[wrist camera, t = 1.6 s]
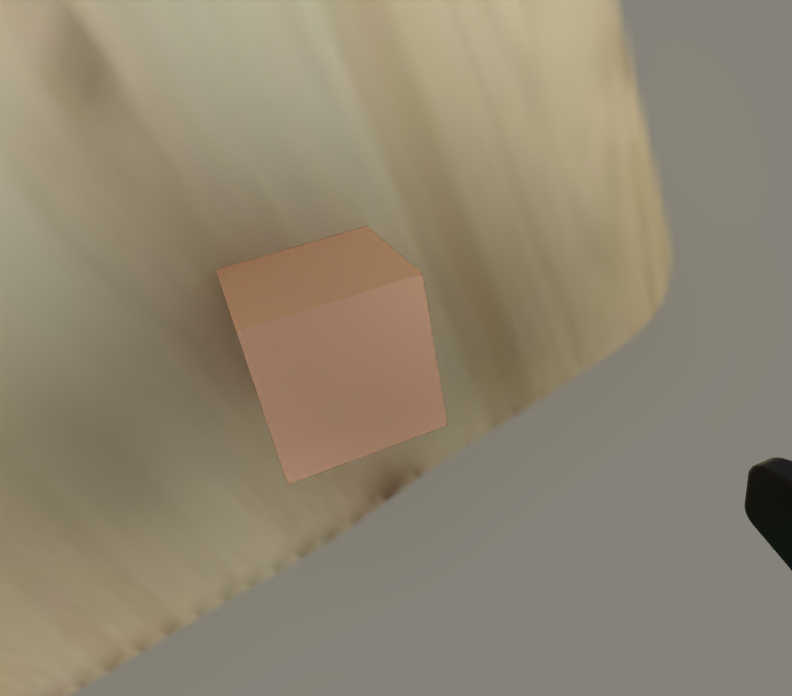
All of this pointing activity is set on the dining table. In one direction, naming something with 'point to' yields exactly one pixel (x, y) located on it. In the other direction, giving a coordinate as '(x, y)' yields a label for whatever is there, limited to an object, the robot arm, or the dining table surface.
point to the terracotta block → (336, 349)
